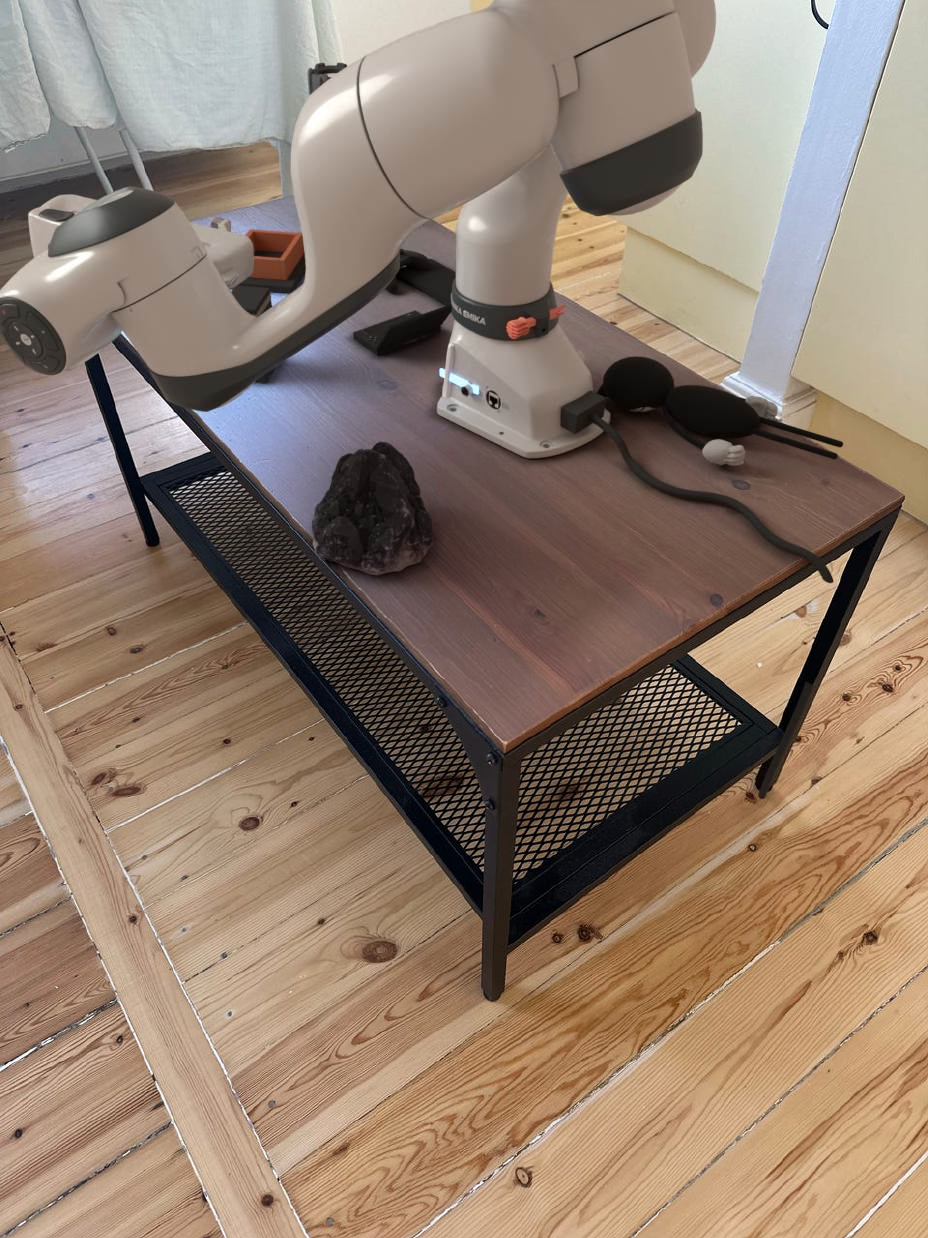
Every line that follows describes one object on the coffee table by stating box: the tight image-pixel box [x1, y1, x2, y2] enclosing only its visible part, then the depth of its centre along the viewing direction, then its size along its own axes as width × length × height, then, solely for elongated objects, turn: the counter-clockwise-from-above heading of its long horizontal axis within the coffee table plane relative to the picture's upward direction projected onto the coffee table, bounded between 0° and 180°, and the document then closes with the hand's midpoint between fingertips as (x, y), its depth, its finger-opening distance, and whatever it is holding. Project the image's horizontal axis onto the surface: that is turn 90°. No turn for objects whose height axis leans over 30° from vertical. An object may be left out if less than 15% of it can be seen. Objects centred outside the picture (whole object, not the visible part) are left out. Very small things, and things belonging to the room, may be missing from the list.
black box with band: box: [231, 286, 276, 384], centre depth 118 cm, size 4×6×10 cm
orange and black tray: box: [231, 228, 306, 294], centre depth 141 cm, size 11×14×4 cm
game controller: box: [384, 248, 431, 293], centre depth 139 cm, size 10×5×6 cm
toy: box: [595, 355, 844, 467], centre depth 110 cm, size 13×8×30 cm
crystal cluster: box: [311, 441, 434, 576], centre depth 94 cm, size 13×14×10 cm
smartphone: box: [395, 258, 456, 306], centre depth 138 cm, size 7×1×15 cm
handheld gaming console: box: [352, 304, 452, 356], centre depth 125 cm, size 12×7×10 cm
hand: (181, 215), depth 97 cm, fingers open, 8 cm apart
